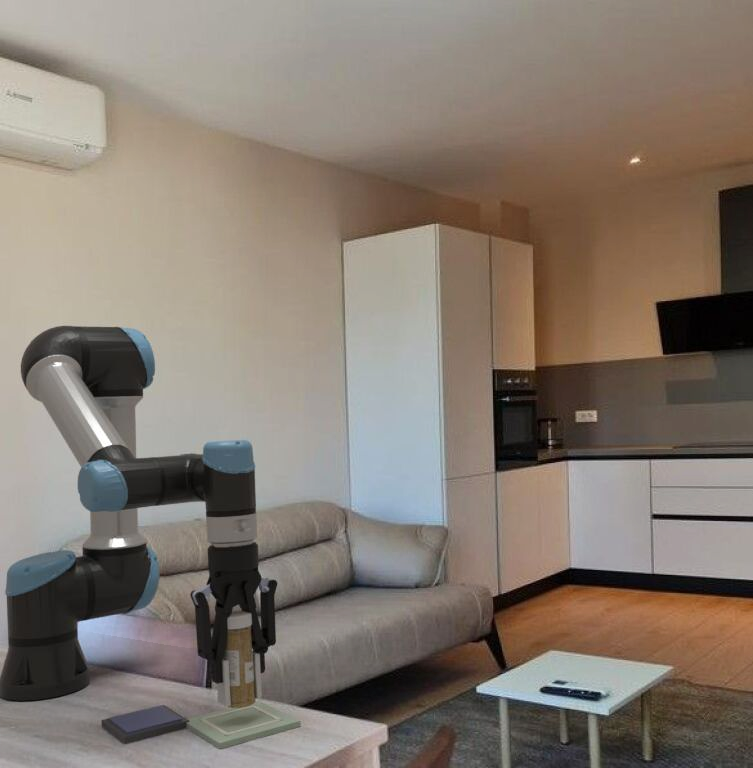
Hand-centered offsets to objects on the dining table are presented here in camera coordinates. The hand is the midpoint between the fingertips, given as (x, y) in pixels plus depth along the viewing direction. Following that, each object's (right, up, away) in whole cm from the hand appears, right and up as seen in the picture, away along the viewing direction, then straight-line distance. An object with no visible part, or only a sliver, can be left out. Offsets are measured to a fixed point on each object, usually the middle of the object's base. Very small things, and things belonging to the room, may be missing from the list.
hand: (240, 699), depth 131 cm
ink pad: (-15, -5, +2) cm, 15 cm away
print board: (0, -4, 0) cm, 4 cm away
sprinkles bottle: (0, -1, 0) cm, 1 cm away
